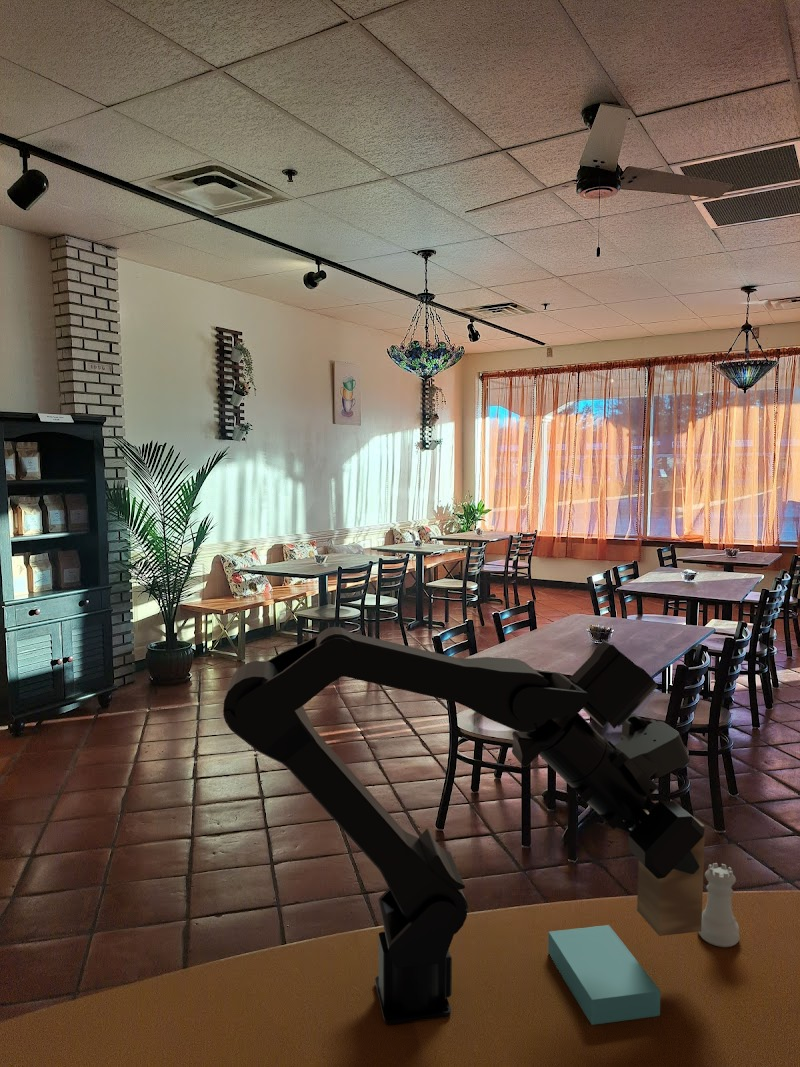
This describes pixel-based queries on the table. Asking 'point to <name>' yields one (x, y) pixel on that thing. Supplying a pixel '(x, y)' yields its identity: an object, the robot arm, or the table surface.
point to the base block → (603, 975)
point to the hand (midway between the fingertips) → (682, 857)
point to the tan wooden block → (673, 896)
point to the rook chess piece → (719, 908)
